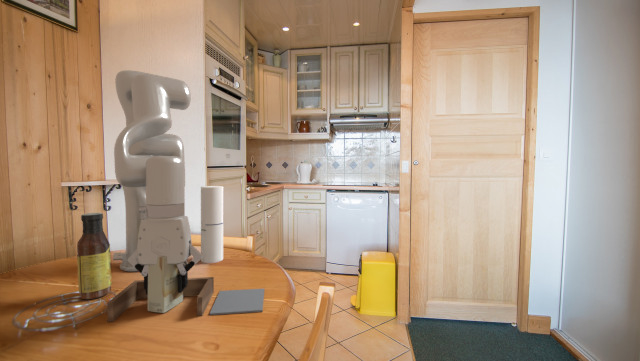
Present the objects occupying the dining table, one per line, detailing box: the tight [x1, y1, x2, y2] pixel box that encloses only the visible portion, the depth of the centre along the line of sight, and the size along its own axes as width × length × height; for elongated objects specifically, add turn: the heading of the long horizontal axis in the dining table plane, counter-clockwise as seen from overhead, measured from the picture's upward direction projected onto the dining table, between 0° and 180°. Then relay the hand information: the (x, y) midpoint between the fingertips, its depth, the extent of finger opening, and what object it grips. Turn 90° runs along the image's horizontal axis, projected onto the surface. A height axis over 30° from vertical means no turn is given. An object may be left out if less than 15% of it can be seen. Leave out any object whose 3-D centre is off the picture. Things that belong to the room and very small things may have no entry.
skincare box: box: [147, 256, 184, 314], centre depth 62 cm, size 6×4×12 cm
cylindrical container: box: [200, 185, 224, 264], centre depth 94 cm, size 7×7×25 cm
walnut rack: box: [106, 276, 215, 323], centre depth 62 cm, size 18×11×4 cm, turn 99°
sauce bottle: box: [76, 212, 113, 300], centre depth 67 cm, size 7×6×20 cm
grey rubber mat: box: [209, 288, 265, 316], centre depth 65 cm, size 11×11×1 cm
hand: (166, 290), depth 62 cm, fingers open, 5 cm apart
